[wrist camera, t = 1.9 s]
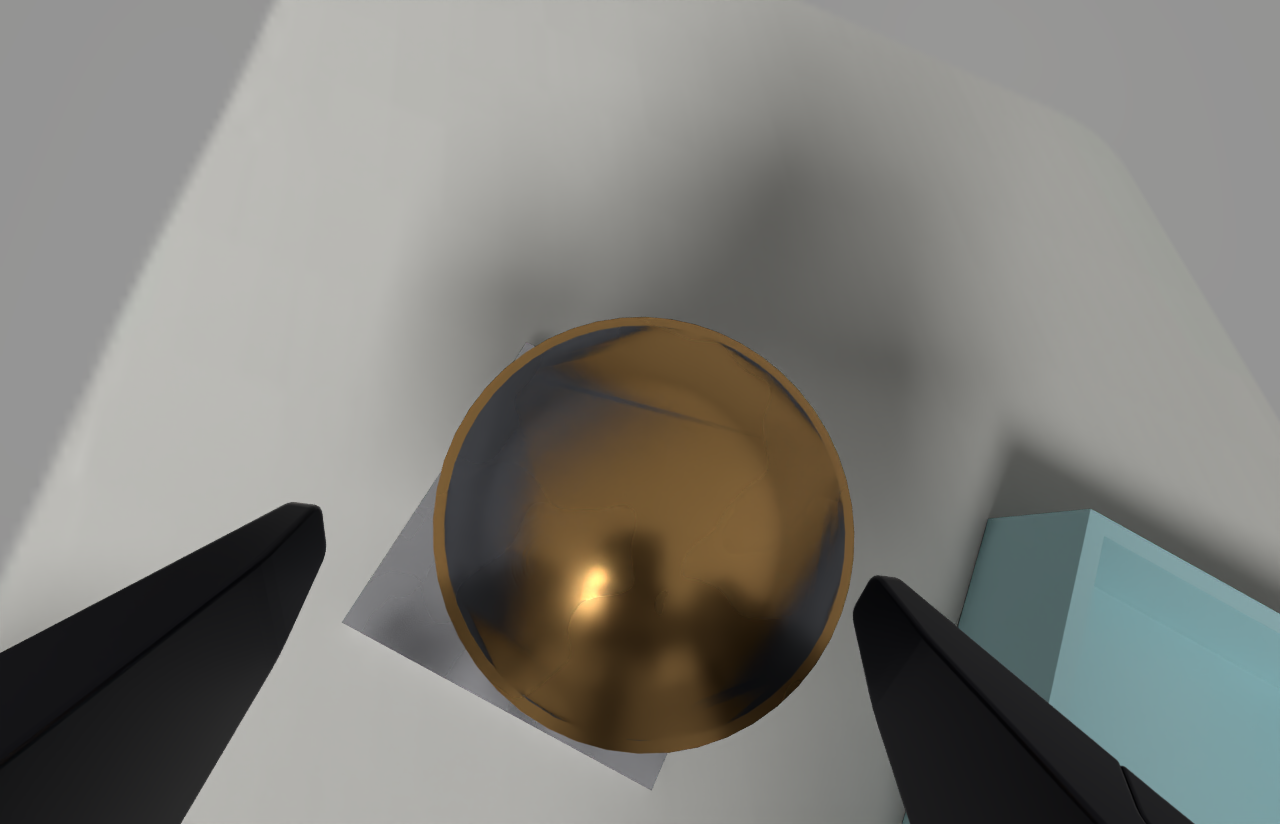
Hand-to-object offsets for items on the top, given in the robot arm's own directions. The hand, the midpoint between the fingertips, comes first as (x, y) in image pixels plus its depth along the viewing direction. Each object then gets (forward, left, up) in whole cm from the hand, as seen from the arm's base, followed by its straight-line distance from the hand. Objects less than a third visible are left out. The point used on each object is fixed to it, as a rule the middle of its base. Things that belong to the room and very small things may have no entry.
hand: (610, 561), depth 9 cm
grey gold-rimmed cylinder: (0, 0, -8) cm, 8 cm away
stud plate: (0, 0, -9) cm, 9 cm away
